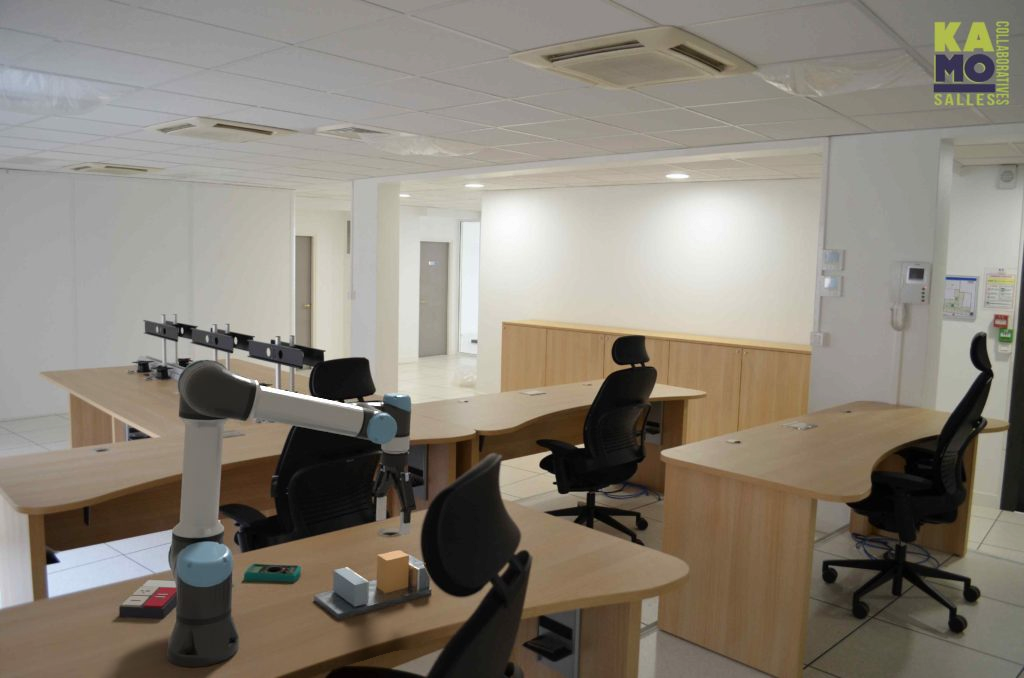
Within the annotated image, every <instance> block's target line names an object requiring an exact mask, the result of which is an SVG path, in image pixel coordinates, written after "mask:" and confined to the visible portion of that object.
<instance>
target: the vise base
mask: <svg viewBox="0 0 1024 678" xmlns="http://www.w3.org/2000/svg"><path fill="white" fill-rule="evenodd" d="M406 554H407V555H409V570H408V587H407V588H403V589H399V590H396V591H392V592H388V593H385V592H383V591H382V590H380V589H379V588H377V587H376V583H377V578H376V579H372V580H369V601H368V603H366V604H363V605H359V606H355V607H354V606H353V605H352V604H350V603H349V602H348V601H346V600H345V599H344V598H342V597H341V596H340V595H338V594H337V593H335V592H334V591H333V589H332V590H327V591H324V592H319V593H317V594H314V595H313V601H314V602H315V601H316V603H317V604H318V605H319V606H320V607H321V608H323V609H324V610H325V611H327V612H328V613H329V614H330V615H332V616H333V617H334V618H335V619H337V620H338V621H339V620H344V619H347V618H350V617H354V616H357V615H358V616H359V615H360V614H365V613H368V612H372V611H374V610H375V611H376V610H380V609H382V608H386V607H390V606H394V605H397V604H401V603H405V602H408V601H412V600H416V599H419V598H422V596H423V597H425V596H429V595H432V588H431V587H430V585H431V582H430V581H431V577H430V578H429V576H428V574H427V572H426V570H425V567H424V564H423V563H424V562H423V561H422V560H420V559H418V558H416V557H415V556H412V555H410V554H409V553H407V552H406Z"/></svg>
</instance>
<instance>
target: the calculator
mask: <svg viewBox="0 0 1024 678" xmlns="http://www.w3.org/2000/svg"><path fill="white" fill-rule="evenodd" d="M176 595H177V592H176V584H175V580H160V579H159V580H155V579H148V580H147V581H145V582H144V583H143V584H142V585H141V586H140V587H139V588H138V589H137V590H135V591H134V592H133V593H132V594H131V595H130V596H129V597H128V598H127V599H126V600H125V601H124V602H123V603H122V604H121V605H120V606H119V608H118V609H119V610H118V611H119V616H118V617H119V618H128V619H129V618H131V619H154V620H155V619H156V620H158V619H159V620H161V619H162V620H163V619H165V618H166V617H167V616H168V615H169V614H170V613H171V612H172V611H173V610H174V609H176Z"/></svg>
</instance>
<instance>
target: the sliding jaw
mask: <svg viewBox="0 0 1024 678" xmlns="http://www.w3.org/2000/svg"><path fill="white" fill-rule="evenodd" d="M332 576H333V578H332V579H333V583H332V584H333V585H332V586H333V587H332V588H333V589H332V590H333V591H334V592H335V593H337V594H338V595H340V596H341V597H342V598H344V599H345V600H346V601H348V602H349V603H350V604H352V605H353V606H354V607H355V606H359V605H363V604H366V603H368V601H369V581H370V580H369V581H368V580H367V579H366V578H364V577H363V576H361V575H360V574H358V573H357V572H355V571H354V570H353V569H351V568H349V567H348V566H346V567H342V568H338V569H334V570H333V575H332Z"/></svg>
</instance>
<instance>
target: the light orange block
mask: <svg viewBox="0 0 1024 678" xmlns="http://www.w3.org/2000/svg"><path fill="white" fill-rule="evenodd" d="M406 553H407V552H406ZM406 553H405V552H404V551H402V550H401V549H399V550H398V549H397V550H393V551H389V552H385V553H379V554H377V556H376V560H377V561H376V579H377V583H376V587H377V588H379V589H380V590H382V591H383V592H385V593H388V592H392V591H396V590H399V589H403V588H407V587H408V570H409V555H410V554H409V555H407V554H406Z"/></svg>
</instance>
